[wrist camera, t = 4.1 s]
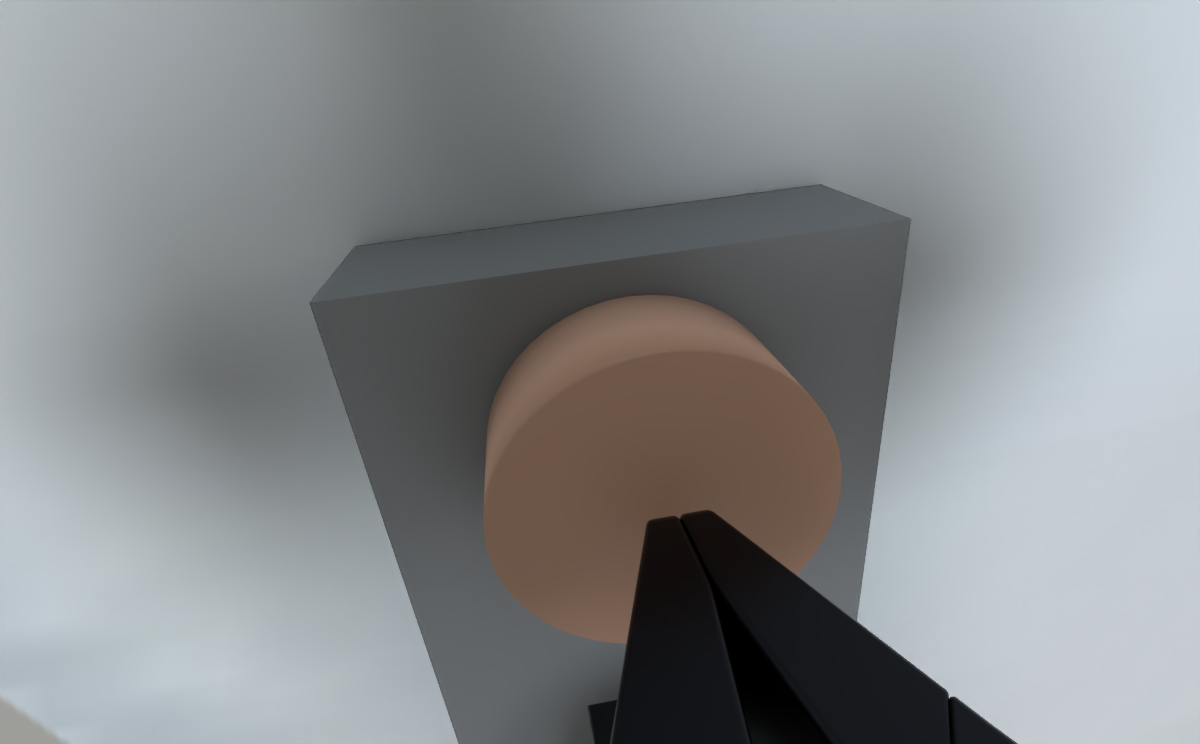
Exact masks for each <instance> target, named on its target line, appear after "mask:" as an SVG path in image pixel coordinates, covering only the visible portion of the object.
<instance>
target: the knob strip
mask: <svg viewBox="0 0 1200 744" xmlns="http://www.w3.org/2000/svg"><path fill="white" fill-rule="evenodd" d="M910 220H911V219H910V218H907V217H905V216H902V215H899V214H897V213H894V212H892V211H889V210H886V209H884V208H881V207H879V206H876V205H873V204H871V203H868V202H865V201H863V200H860V199H858V198H855V197H852V196H850V195H847V194H844V193H842V192H839V191H837V190H834V189H831V188H829V187H826V186H823V185H813V186H806V187H798V188H791V189H783V190H776V191H768V192H761V193H753V194H746V195H738V196H731V197H723V198H716V199H708V200H701V201H693V202H686V203H678V204H671V205H663V206H656V207H648V208H641V209H633V210H626V211H618V212H611V213H603V214H596V215H588V216H581V217H573V218H566V219H558V220H551V221H543V222H536V223H528V224H521V225H513V226H506V227H498V228H491V229H483V230H476V231H468V232H461V233H453V234H446V235H438V236H431V237H423V238H416V239H408V240H401V241H393V242H386V243H378V244H371V245H363V246H356V247H354V248H353V249H352V251H351V252H350V253H349V254H348V256H347V257H346V258H345V259H344V261H343V262H342V263H341V264H340V266H339V267H338V268H337V269H336V270H335V272H334V273H333V274H332V275H331V277H330V278H329V279H328V280H327V282H326V283H325V284H324V285H323V287H322V288H321V289H320V290H319V292H318V293H317V294H316V295H315V297H314V298H313V299H312V300H311V302H310V306H311V309H312V312H313V315H314V318H315V321H316V323H317V326H318V329H319V332H320V335H321V338H322V341H323V344H324V347H325V350H326V353H327V356H328V359H329V362H330V365H331V368H332V371H333V374H334V377H335V380H336V383H337V385H338V388H339V391H340V394H341V397H342V400H343V403H344V406H345V409H346V412H347V415H348V418H349V421H350V424H351V427H352V430H353V433H354V436H355V439H356V442H357V445H358V448H359V450H360V453H361V456H362V459H363V462H364V465H365V468H366V471H367V474H368V477H369V480H370V483H371V486H372V489H373V492H374V495H375V498H376V501H377V504H378V507H379V510H380V512H381V515H382V518H383V521H384V524H385V527H386V530H387V533H388V536H389V539H390V542H391V545H392V548H393V551H394V554H395V557H396V560H397V563H398V566H399V569H400V572H401V574H402V577H403V580H404V583H405V586H406V589H407V592H408V595H409V598H410V601H411V604H412V607H413V610H414V613H415V616H416V619H417V622H418V625H419V628H420V631H421V634H422V637H423V639H424V642H425V645H426V648H427V651H428V654H429V657H430V660H431V663H432V666H433V669H434V672H435V675H436V678H437V681H438V684H439V687H440V690H441V693H442V696H443V699H444V701H445V704H446V707H447V710H448V713H449V716H450V719H451V722H452V725H453V728H454V731H455V734H456V737H457V740H458V743H459V744H610V740H611V734H612V728H613V722H614V716H615V710H616V704H617V698H618V692H619V686H620V680H621V674H622V668H623V662H624V656H625V650H626V644H623V643H610V642H603V641H596V640H592V639H588V638H584V637H580V636H576V635H573V634H570V633H568V632H565V631H563V630H560V629H557V628H555V627H554V626H552V625H550V624H548V623H546V622H544V621H542V620H540V619H539V618H538V617H536V616H535V615H533V614H532V613H531V612H529V611H528V610H526V609H525V608H524V607H523V606H522V605H521V604H520V603H519V602H518V601H517V600H516V599H515V598H514V597H512V595H511V594H510V593H509V591H508V590H507V589H506V588H505V586H504V585H503V584H502V582H501V581H500V579H499V577H498V575H497V573H496V572H495V570H494V568H493V566H492V563H491V560H490V557H489V555H488V552H487V549H486V543H485V537H484V530H483V516H484V488H485V465H486V441H487V425H488V420H489V414H490V409H491V406H492V403H493V400H494V397H495V394H496V392H497V390H498V388H499V386H500V384H501V382H502V380H503V378H504V376H505V374H506V373H507V371H508V370H509V368H510V367H511V366H512V364H513V363H514V361H515V360H516V358H517V357H518V356H519V355H520V354H521V353H522V352H523V351H524V350H525V349H526V348H527V346H528V345H529V344H530V343H531V342H533V341H534V340H535V339H536V338H537V337H538V336H540V335H541V334H542V333H543V332H544V331H546V330H547V329H548V328H550V327H551V326H553V325H555V324H556V323H558V322H559V321H561V320H562V319H564V318H566V317H568V316H570V315H572V314H574V313H576V312H578V311H580V310H582V309H584V308H587V307H590V306H593V305H596V304H598V303H601V302H604V301H608V300H613V299H618V298H622V297H627V296H639V295H668V296H675V297H681V298H687V299H692V300H695V301H698V302H701V303H704V304H707V305H710V306H712V307H714V308H716V309H718V310H720V311H723V312H725V313H727V314H728V315H730V316H731V317H733V318H734V319H736V320H737V321H739V322H740V323H741V324H743V325H744V326H745V327H746V328H747V329H748V330H749V331H750V332H751V333H752V334H754V335H755V336H756V337H757V338H758V340H759V341H760V342H761V343H762V344H763V345H764V346H765V347H766V348H767V349H768V350H769V351H770V353H771V354H772V355H773V356H774V357H775V358H776V359H777V360H778V361H779V362H780V363H781V364H782V365H783V367H784V368H785V369H786V370H787V371H788V372H789V373H790V374H791V375H792V376H793V377H794V378H795V379H796V381H797V382H798V383H799V384H800V385H801V386H802V387H803V388H804V389H805V390H806V391H807V392H808V394H809V395H810V396H811V397H812V398H813V399H814V400H815V402H816V403H817V404H818V406H819V407H820V408H821V410H822V411H823V412H824V414H825V415H826V417H827V419H828V421H829V423H830V425H831V427H832V429H833V431H834V434H835V437H836V440H837V443H838V446H839V451H840V458H841V465H842V479H841V490H840V496H839V502H838V506H837V509H836V512H835V515H834V518H833V521H832V523H831V525H830V528H829V530H828V532H827V534H826V536H825V538H824V540H823V541H822V543H821V545H820V546H819V548H818V549H817V551H816V552H815V554H814V555H813V557H812V558H811V559H810V560H809V562H808V563H807V564H806V565H805V567H804V568H803V569H802V570H801V572H800V573H799V574H798V575H797V576H798V577H800V578H801V579H802V580H803V581H805V582H806V583H807V584H809V585H810V586H811V587H813V588H814V589H815V590H816V591H818V592H819V593H820V594H822V595H823V596H824V597H826V598H827V599H828V600H829V601H831V602H832V603H833V604H835V605H836V606H837V607H839V608H840V609H841V610H843V611H844V612H845V613H846V614H848V615H849V616H850V617H852V618H853V619H854V620H856V621H857V615H858V607H859V600H860V593H861V585H862V578H863V570H864V563H865V555H866V548H867V540H868V533H869V526H870V518H871V511H872V503H873V496H874V488H875V481H876V473H877V466H878V459H879V451H880V444H881V436H882V429H883V421H884V414H885V406H886V399H887V392H888V384H889V377H890V369H891V362H892V354H893V347H894V339H895V332H896V325H897V317H898V310H899V302H900V295H901V287H902V280H903V272H904V265H905V258H906V250H907V243H908V235H909V228H910Z"/></svg>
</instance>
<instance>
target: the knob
mask: <svg viewBox="0 0 1200 744" xmlns="http://www.w3.org/2000/svg"><path fill="white" fill-rule="evenodd" d="M841 479H842V465H841V458H840V451H839V446H838V443H837V440H836V437H835V434H834V431H833V429H832V427H831V425H830V423H829V421H828V419H827V417H826V415H825V414H824V412H823V411H822V410H821V408H820V407H819V406H818V404H817V403H816V402H815V400H814V399H813V398H812V397H811V396H810V395H809V394H808V392H807V391H806V390H805V389H804V388H803V387H802V386H801V385H800V384H799V383H798V382H797V381H796V379H795V378H794V377H793V376H792V375H791V374H790V373H789V372H788V371H787V370H786V369H785V368H784V367H783V365H782V364H781V363H780V362H779V361H778V360H777V359H776V358H775V357H774V356H773V355H772V354H771V353H770V351H769V350H768V349H767V348H766V347H765V346H764V345H763V344H762V343H761V342H760V341H759V340H758V338H757V337H756V336H755V335H754V334H752V333H751V332H750V331H749V330H748V329H747V328H746V327H745V326H744V325H743V324H741V323H740V322H739V321H737V320H736V319H734V318H733V317H731V316H730V315H728V314H727V313H725V312H723V311H720V310H718V309H716V308H714V307H712V306H710V305H707V304H704V303H701V302H698V301H695V300H692V299H687V298H681V297H675V296H668V295H639V296H627V297H622V298H618V299H613V300H608V301H604V302H601V303H598V304H596V305H593V306H590V307H587V308H584V309H582V310H580V311H578V312H576V313H574V314H572V315H570V316H568V317H566V318H564V319H562V320H561V321H559V322H558V323H556V324H555V325H553V326H551V327H550V328H548V329H547V330H546V331H544V332H543V333H542V334H541V335H540V336H538V337H537V338H536V339H535V340H534V341H533V342H531V343H530V344H529V345H528V346H527V348H526V349H525V350H524V351H523V352H522V353H521V354H520V355H519V356H518V357H517V358H516V360H515V361H514V363H513V364H512V366H511V367H510V368H509V370H508V371H507V373H506V374H505V376H504V378H503V380H502V382H501V384H500V386H499V388H498V390H497V392H496V394H495V397H494V400H493V403H492V406H491V409H490V414H489V420H488V425H487V441H486V465H485V488H484V516H483V530H484V537H485V543H486V549H487V552H488V555H489V557H490V560H491V563H492V566H493V568H494V570H495V572H496V573H497V575H498V577H499V579H500V581H501V582H502V584H503V585H504V586H505V588H506V589H507V590H508V591H509V593H510V594H511V595H512V597H514V598H515V599H516V600H517V601H518V602H519V603H520V604H521V605H522V606H523V607H524V608H525V609H526V610H528V611H529V612H531V613H532V614H533V615H535V616H536V617H538V618H539V619H540V620H542V621H544V622H546V623H548V624H550V625H552V626H554V627H555V628H557V629H560V630H563V631H565V632H568V633H570V634H573V635H576V636H580V637H584V638H588V639H592V640H596V641H603V642H610V643H623V644H627V638H628V632H629V626H630V620H631V614H632V608H633V601H634V595H635V589H636V583H637V577H638V571H639V565H640V559H641V553H642V547H643V541H644V535H645V529H646V524H647V522H648V521H649V520H651V519H656V518H661V517H667V516H677V517H678V518H679V519H680V516H681V515H682V514H684V513H690V512H696V511H701V510H711V511H713V512H715V513H716V514H717V515H719V516H720V517H721V518H723V519H724V520H725V521H727V522H728V523H729V524H731V525H732V526H733V527H734V528H736V529H737V530H738V531H740V532H741V533H742V534H744V535H745V536H746V537H747V538H749V539H750V540H751V541H753V542H754V543H755V544H757V545H758V546H759V547H760V548H762V549H763V550H764V551H766V552H767V553H768V554H770V555H771V556H772V557H773V558H775V559H776V560H777V561H779V562H780V563H781V564H783V565H784V566H785V567H787V568H788V569H789V570H790V571H792V572H793V573H794V574H796V575H798V574H799V573H800V572H801V570H802V569H803V568H804V567H805V565H806V564H807V563H808V562H809V560H810V559H811V558H812V557H813V555H814V554H815V552H816V551H817V549H818V548H819V546H820V545H821V543H822V541H823V540H824V538H825V536H826V534H827V532H828V530H829V528H830V525H831V523H832V521H833V518H834V515H835V512H836V509H837V506H838V502H839V496H840V490H841Z"/></svg>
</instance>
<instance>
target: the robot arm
mask: <svg viewBox="0 0 1200 744" xmlns="http://www.w3.org/2000/svg"><path fill="white" fill-rule="evenodd" d="M610 744H1017V743H1016V742H1015V741H1013V740H1012V739H1011V738H1009V737H1008V736H1006V735H1005V734H1004V733H1002V732H1001V731H1000V730H998V729H997V728H996V727H994V726H993V725H992V724H990V723H989V722H988V721H986V720H985V719H984V718H982V717H981V716H980V715H978V714H977V713H976V712H975V711H973V710H972V709H971V708H969V707H968V706H967V705H965V704H964V703H963V702H962V701H960V700H959V699H958V698H956V697H950V698H949V695H948V692H947V690H945V689H944V688H943V687H942V686H940V685H939V684H938V683H936V682H935V681H934V680H932V679H931V678H930V677H928V676H927V675H926V674H925V673H923V672H922V671H921V670H919V669H918V668H917V667H915V666H914V665H913V664H912V663H910V662H909V661H908V660H906V659H905V658H904V657H902V656H901V655H900V654H899V653H897V652H896V651H895V650H893V649H892V648H891V647H889V646H888V645H887V644H886V643H884V642H883V641H882V640H880V639H879V638H878V637H876V636H875V635H874V634H872V633H871V632H870V631H869V630H867V629H866V628H865V627H863V626H862V625H861V624H859V623H858V622H857V621H856V620H854V619H853V618H852V617H850V616H849V615H848V614H846V613H845V612H844V611H843V610H841V609H840V608H839V607H837V606H836V605H835V604H833V603H832V602H831V601H829V600H828V599H827V598H826V597H824V596H823V595H822V594H820V593H819V592H818V591H816V590H815V589H814V588H813V587H811V586H810V585H809V584H807V583H806V582H805V581H803V580H802V579H801V578H800V577H798V576H797V575H796V574H794V573H793V572H792V571H790V570H789V569H788V568H787V567H785V566H784V565H783V564H781V563H780V562H779V561H777V560H776V559H775V558H773V557H772V556H771V555H770V554H768V553H767V552H766V551H764V550H763V549H762V548H760V547H759V546H758V545H757V544H755V543H754V542H753V541H751V540H750V539H749V538H747V537H746V536H745V535H744V534H742V533H741V532H740V531H738V530H737V529H736V528H734V527H733V526H732V525H731V524H729V523H728V522H727V521H725V520H724V519H723V518H721V517H720V516H719V515H717V514H716V513H715V512H713V511H711V510H701V511H696V512H690V513H684V514H682V515H681V516H680V519H679V518H678V517H677V516H667V517H661V518H656V519H651V520H649V521H648V522H647V524H646V529H645V535H644V541H643V547H642V553H641V559H640V565H639V571H638V577H637V583H636V589H635V595H634V601H633V608H632V614H631V620H630V626H629V632H628V638H627V644H626V650H625V656H624V662H623V668H622V674H621V680H620V686H619V692H618V698H617V704H616V710H615V716H614V722H613V728H612V734H611V740H610Z"/></svg>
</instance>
